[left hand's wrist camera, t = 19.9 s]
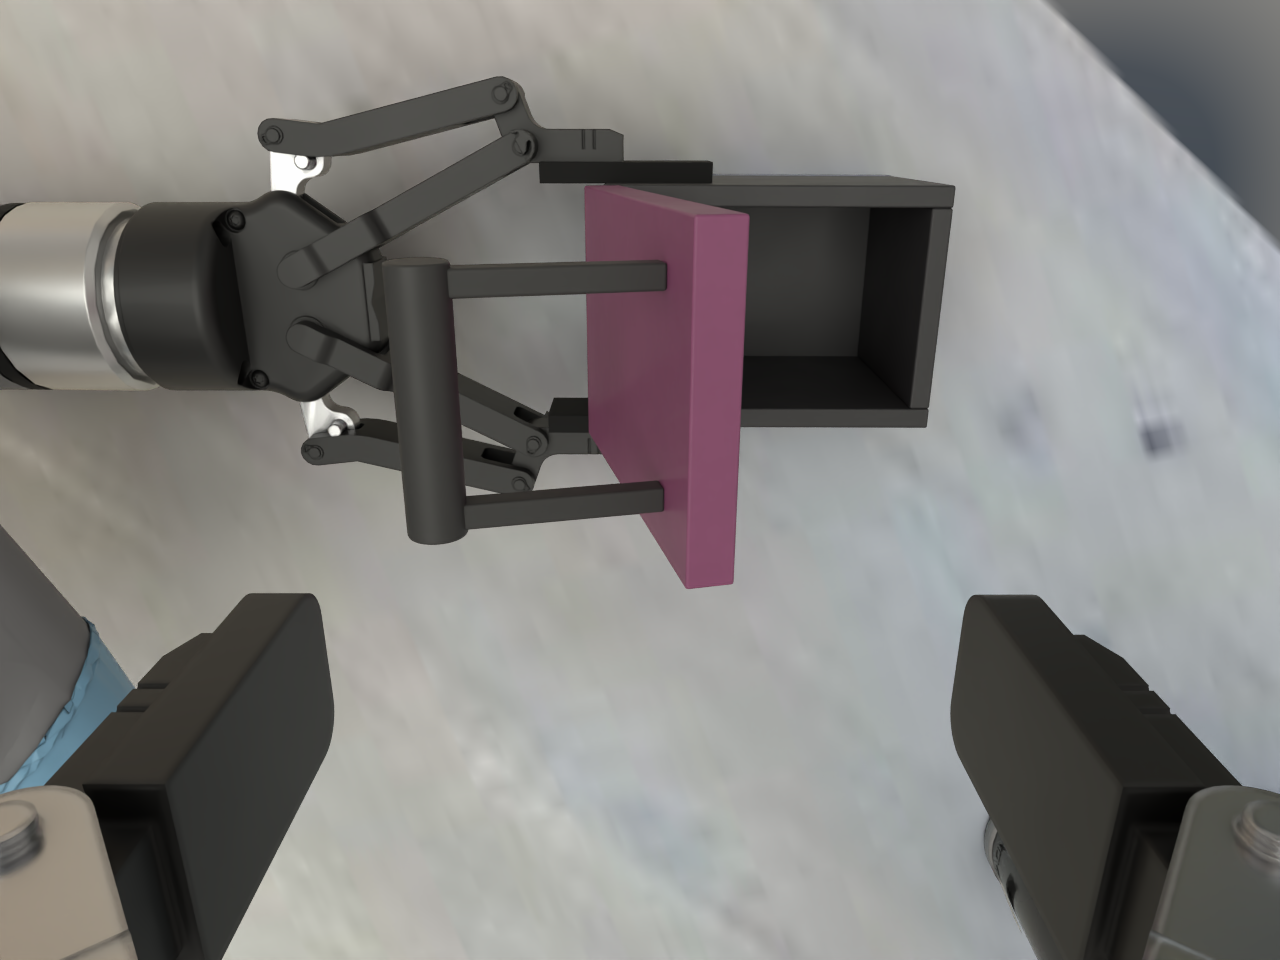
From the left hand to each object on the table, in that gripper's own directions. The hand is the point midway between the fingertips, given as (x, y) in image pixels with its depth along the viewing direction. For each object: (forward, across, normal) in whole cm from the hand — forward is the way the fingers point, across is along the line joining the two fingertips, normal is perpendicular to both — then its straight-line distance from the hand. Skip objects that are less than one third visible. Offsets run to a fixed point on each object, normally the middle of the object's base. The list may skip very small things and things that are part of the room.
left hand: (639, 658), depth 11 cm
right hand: (+27, -3, 0) cm, 28 cm away
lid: (+17, -1, 0) cm, 17 cm away
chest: (+35, -5, 0) cm, 35 cm away
